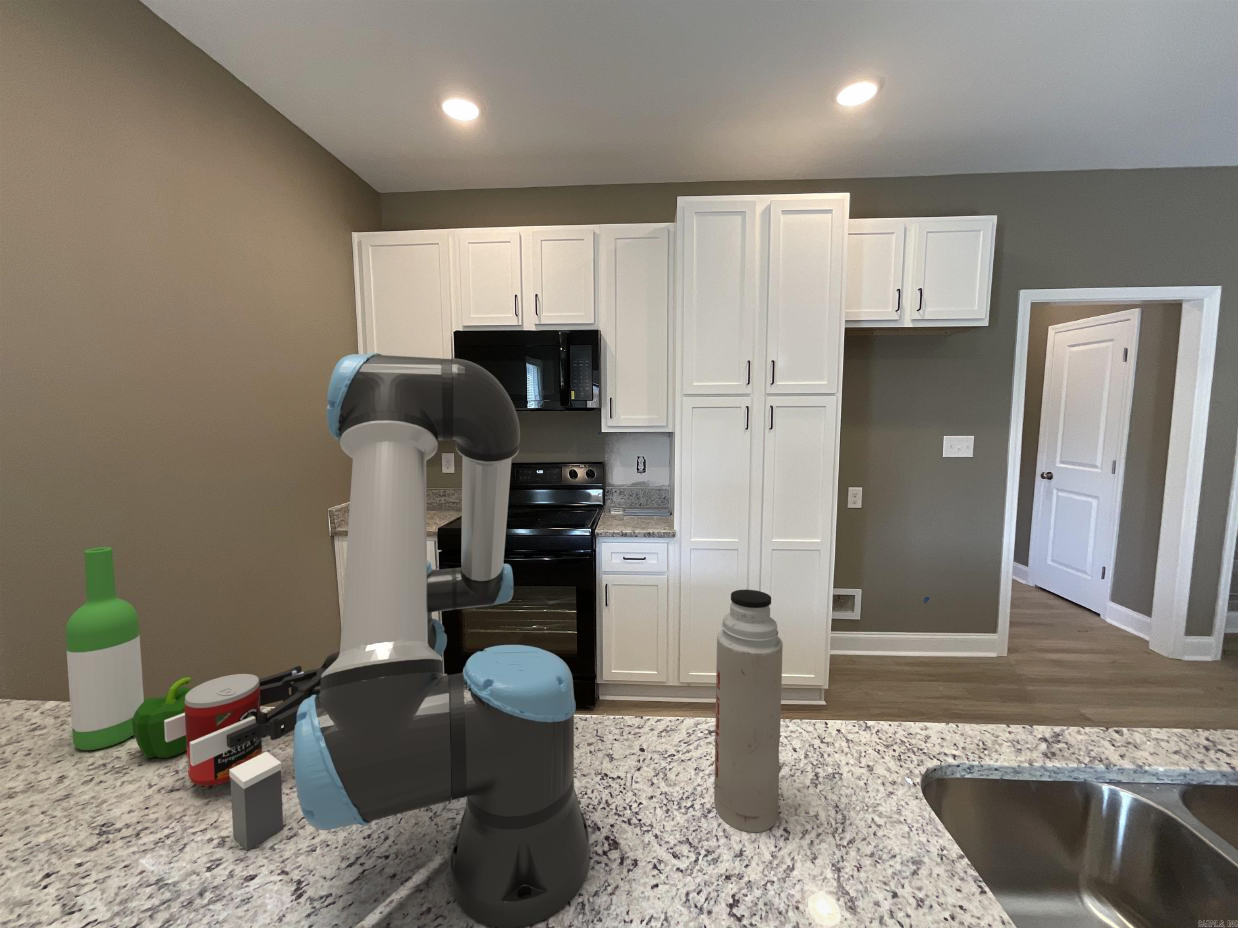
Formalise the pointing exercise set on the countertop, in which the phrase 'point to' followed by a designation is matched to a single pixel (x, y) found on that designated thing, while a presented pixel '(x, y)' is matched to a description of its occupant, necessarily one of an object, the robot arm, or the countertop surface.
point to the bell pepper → (160, 722)
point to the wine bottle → (103, 659)
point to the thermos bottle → (748, 714)
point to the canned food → (221, 723)
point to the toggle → (256, 800)
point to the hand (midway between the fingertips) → (178, 742)
